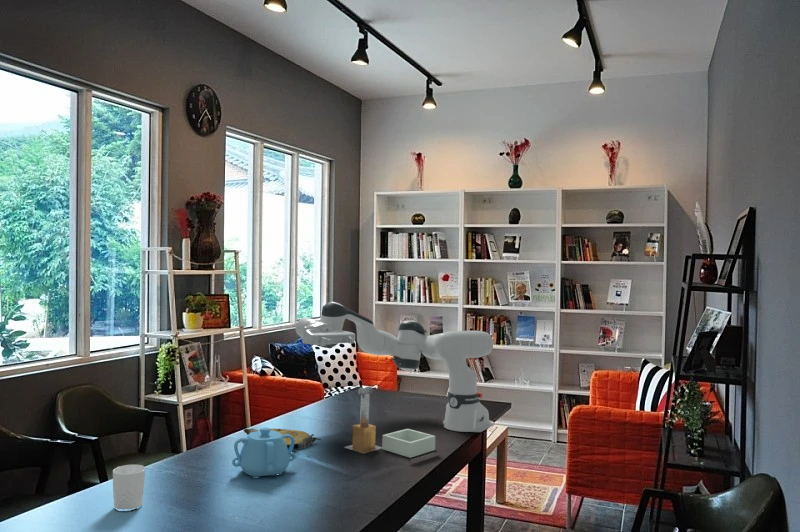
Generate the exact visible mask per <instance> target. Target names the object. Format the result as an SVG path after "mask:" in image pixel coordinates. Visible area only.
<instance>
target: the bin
mask: <svg viewBox="0 0 800 532" xmlns="http://www.w3.org/2000/svg"><path fill="white" fill-rule="evenodd" d="M381 442H382V443H381V445H382V446H381V447H382V449H381V450H384V451H387V452H391V453H394V454H397V455H400V456H404V457H407V458H412V459H408V462H411V461H415V460H418V459H421V457H422V458H424V456H425V457H428V456H430V455H434V454H436V451H435V450H436V435H433V434H429V433H426V432H422V431H418V430H414V429H411V428H404V429H400V430H397V431H393V432H390V433H385V434H382V441H381ZM427 453H428V454H427ZM423 454H424V455H423ZM420 455H422V456H420ZM417 456H419V457H417ZM413 457H415V458H413Z"/></svg>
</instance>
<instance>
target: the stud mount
mask: <svg viewBox="0 0 800 532" xmlns="http://www.w3.org/2000/svg"><path fill="white" fill-rule="evenodd" d="M343 448H344V449H348V450H352V451H353V452H358V453H359V454H362V455H364V454H368V453H370V452H375V451H378V450H383V449H382V446H379V445H376V444H375V448H372V449H369V450H365V451H362V450H359V449H356V448H353V447H352V444H349V445H347V446H343Z"/></svg>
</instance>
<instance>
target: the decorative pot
mask: <svg viewBox="0 0 800 532" xmlns="http://www.w3.org/2000/svg"><path fill="white" fill-rule="evenodd" d="M271 429H272V428H270V427H261V428H259V429H257V430H258V431H256V432H251V433H249V434H248V435H247V436H246V437H240V438H238V439H237V440H236V441H235V442H234V444H233V450H234V452H235V453H234V454H235V455H236V457H234V458H233V459H232V462H231V464H232V466H234V467H235V468H237V467H240V468H241V469H242V472H244V473H245V474H247V475H249V476H252V477H259V476H260V477H265V476H267V477H268V476H274V475H277V474H280V473H281V474H283V473H285V471H286V470H287V469H288V467H289V465H290V462H293V461H295V460H296V457H297V456H296V452H292V450H294V449H293V447H294V443H295V440H294V437H293V436H291V435H289V434H284V435H281V434H280V433H279V432H277V431H272V430H271ZM287 437H288V438H290V439H291V444H290V447H289V450H288V448H287V445H286V443H285V441H284V438H287ZM242 442H243V445H242V447H241V450H240V452H239V448H238V447H239V446H238V445H239V444H240V443H242ZM291 452H292V453H291ZM236 461H237V462H236ZM252 477H251V478H252ZM260 477H259V478H260Z"/></svg>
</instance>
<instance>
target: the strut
mask: <svg viewBox="0 0 800 532" xmlns="http://www.w3.org/2000/svg"><path fill="white" fill-rule="evenodd" d="M373 392H374V389H373V387H372V386H365V387H359V388H358V389H357V394H358V395H359V396H360V413H359V416H360V417H359V418H360V419H359V420H360V421H359V423H358V424H353V425H352V442H351V443H352V444H351V445H352V447H353V448H356V449H359V450H362V451H365V450H369V449H372V448H375V445H376V432H377V429H376V428H377V426H376V425H374V424H370V394H372V393H373Z"/></svg>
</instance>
